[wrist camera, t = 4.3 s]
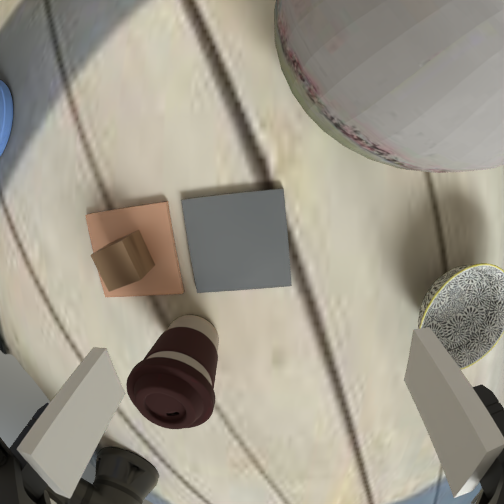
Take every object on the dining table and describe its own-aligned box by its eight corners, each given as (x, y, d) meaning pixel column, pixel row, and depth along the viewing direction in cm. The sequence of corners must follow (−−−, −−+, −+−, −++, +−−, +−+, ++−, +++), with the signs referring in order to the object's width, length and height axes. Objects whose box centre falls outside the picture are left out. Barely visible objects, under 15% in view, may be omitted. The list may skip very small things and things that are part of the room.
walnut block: (125, 276, 40) (109, 291, 36) (109, 243, 39) (90, 255, 34) (155, 264, 40) (140, 279, 35) (138, 229, 38) (121, 240, 33)
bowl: (380, 331, 42) (396, 362, 34) (430, 229, 37) (458, 246, 29) (454, 351, 42) (474, 378, 35) (501, 265, 37) (529, 284, 30)
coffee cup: (162, 297, 42) (118, 363, 28) (233, 313, 42) (216, 388, 28) (159, 354, 45) (124, 423, 31) (223, 369, 45) (206, 446, 31)
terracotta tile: (107, 294, 42) (105, 297, 42) (88, 213, 39) (85, 215, 38) (184, 291, 41) (182, 293, 41) (167, 201, 38) (165, 202, 37)
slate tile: (198, 290, 41) (197, 292, 40) (183, 199, 37) (181, 200, 37) (291, 283, 40) (291, 285, 39) (283, 188, 36) (283, 188, 36)
